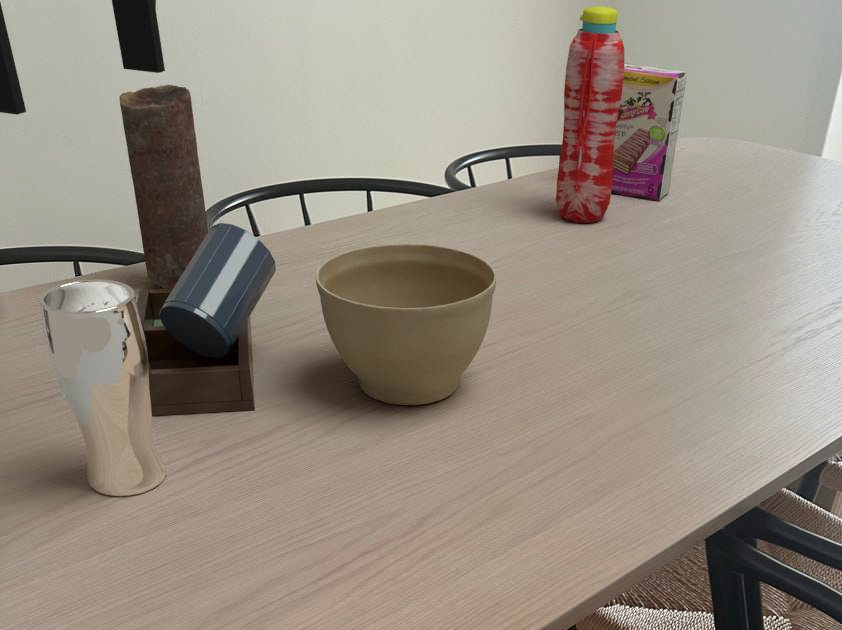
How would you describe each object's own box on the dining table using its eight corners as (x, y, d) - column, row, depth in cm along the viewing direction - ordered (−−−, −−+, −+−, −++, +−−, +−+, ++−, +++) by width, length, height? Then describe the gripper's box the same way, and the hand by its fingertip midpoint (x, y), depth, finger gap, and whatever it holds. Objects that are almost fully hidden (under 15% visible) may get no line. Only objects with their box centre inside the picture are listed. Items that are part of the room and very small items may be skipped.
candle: (226, 290, 113) (200, 94, 100) (164, 302, 109) (129, 101, 97) (200, 270, 117) (172, 80, 105) (140, 281, 114) (103, 86, 101)
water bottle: (569, 199, 144) (586, -3, 128) (622, 207, 142) (646, 2, 126) (542, 222, 136) (557, 8, 120) (598, 231, 134) (621, 14, 118)
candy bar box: (588, 190, 148) (600, 66, 138) (600, 182, 152) (612, 60, 141) (660, 202, 145) (678, 75, 134) (670, 194, 148) (688, 69, 138)
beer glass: (88, 506, 77) (40, 319, 67) (78, 464, 82) (31, 284, 72) (179, 490, 79) (144, 306, 70) (164, 450, 84) (129, 273, 75)
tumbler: (167, 294, 86) (219, 211, 89) (152, 325, 92) (202, 246, 95) (236, 340, 89) (284, 257, 92) (218, 367, 95) (263, 288, 98)
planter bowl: (327, 351, 101) (319, 241, 94) (485, 351, 102) (488, 243, 95) (319, 425, 89) (310, 305, 82) (498, 424, 90) (504, 306, 83)
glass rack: (132, 417, 89) (123, 375, 86) (146, 327, 104) (139, 289, 101) (254, 410, 90) (249, 368, 88) (250, 322, 106) (246, 285, 103)
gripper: (-178, -476, 37) (-15, 140, 51) (190, -372, 55) (238, 61, 69) (-326, -469, 39) (-130, 124, 52) (78, -370, 57) (146, 51, 71)
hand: (79, 89), depth 61 cm, fingers open, 13 cm apart
